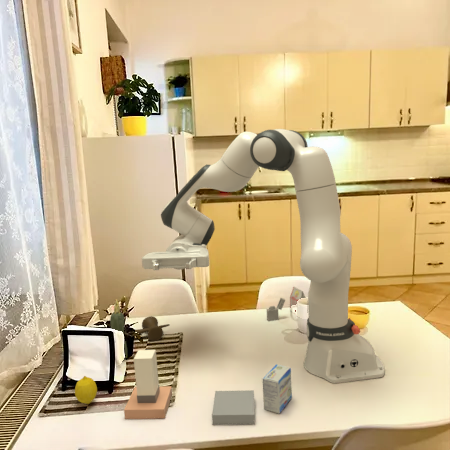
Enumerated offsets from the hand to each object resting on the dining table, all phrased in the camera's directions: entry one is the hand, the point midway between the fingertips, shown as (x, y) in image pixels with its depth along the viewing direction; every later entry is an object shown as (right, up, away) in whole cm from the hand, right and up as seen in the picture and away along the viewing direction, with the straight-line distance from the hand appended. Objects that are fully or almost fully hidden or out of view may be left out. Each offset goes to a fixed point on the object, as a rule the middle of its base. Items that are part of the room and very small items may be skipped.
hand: (171, 267), depth 118 cm
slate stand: (+18, -34, -15) cm, 41 cm away
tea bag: (+44, -23, +43) cm, 66 cm away
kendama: (-14, -29, +29) cm, 43 cm away
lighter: (+35, -24, +39) cm, 57 cm away
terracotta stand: (-4, -35, -11) cm, 37 cm away
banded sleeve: (-4, -32, -12) cm, 35 cm away
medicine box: (+29, -34, -13) cm, 46 cm away
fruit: (-21, -35, -9) cm, 42 cm away
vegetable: (-18, -31, +14) cm, 38 cm away
